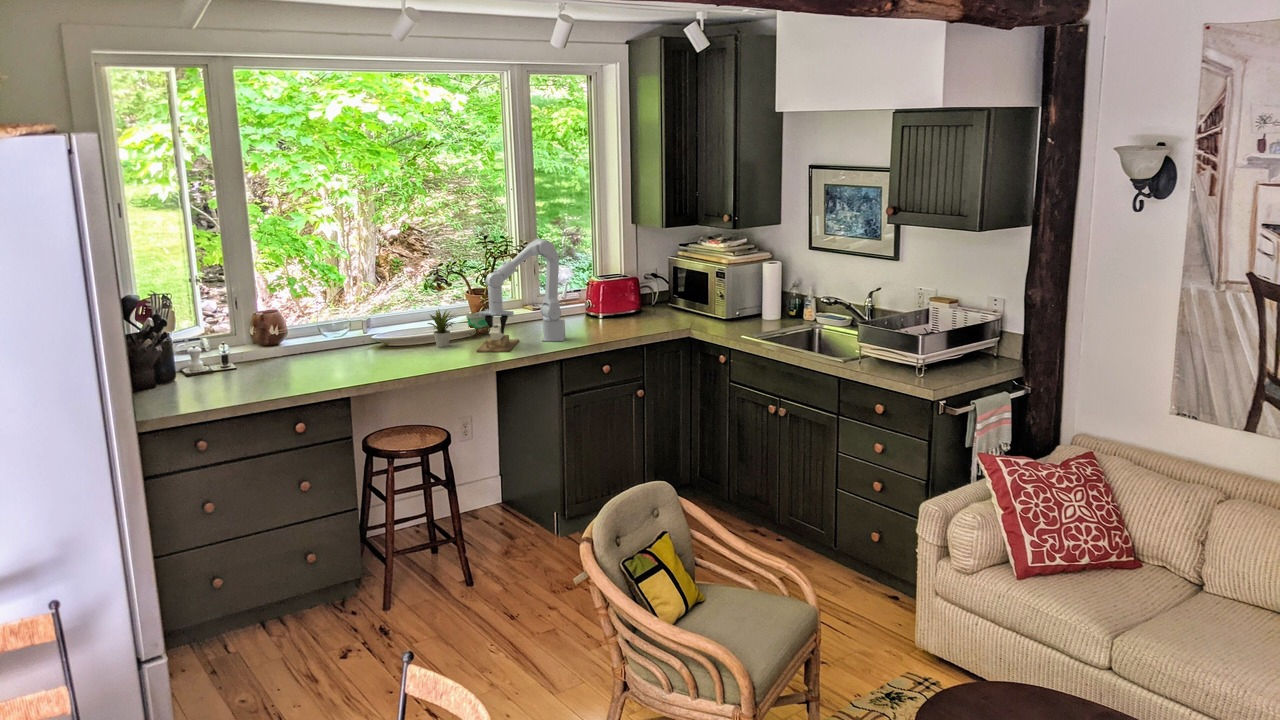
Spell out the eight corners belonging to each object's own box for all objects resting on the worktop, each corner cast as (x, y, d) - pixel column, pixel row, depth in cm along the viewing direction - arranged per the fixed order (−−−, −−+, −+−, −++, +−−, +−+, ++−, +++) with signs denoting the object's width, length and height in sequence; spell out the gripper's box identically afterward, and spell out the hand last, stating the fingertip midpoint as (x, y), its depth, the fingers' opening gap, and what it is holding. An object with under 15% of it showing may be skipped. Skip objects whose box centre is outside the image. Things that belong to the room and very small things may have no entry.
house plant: (451, 351, 421) (449, 312, 417) (421, 350, 424) (418, 312, 420) (464, 343, 435) (461, 306, 431) (434, 342, 437) (431, 305, 433)
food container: (476, 336, 446) (475, 314, 443) (467, 335, 449) (465, 313, 447) (496, 331, 455) (495, 310, 453) (487, 330, 459) (485, 308, 456)
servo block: (505, 334, 432) (504, 321, 431) (498, 341, 420) (498, 327, 418) (496, 334, 432) (495, 321, 431) (489, 341, 420) (488, 327, 418)
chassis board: (519, 341, 436) (518, 332, 435) (509, 352, 417) (508, 343, 416) (487, 341, 437) (486, 332, 436) (476, 352, 418) (475, 343, 417)
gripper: (476, 303, 419) (478, 334, 422) (510, 303, 418) (512, 335, 421) (480, 300, 426) (482, 331, 429) (514, 299, 425) (515, 331, 428)
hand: (497, 332), depth 426 cm, fingers closed on servo block, 4 cm apart
